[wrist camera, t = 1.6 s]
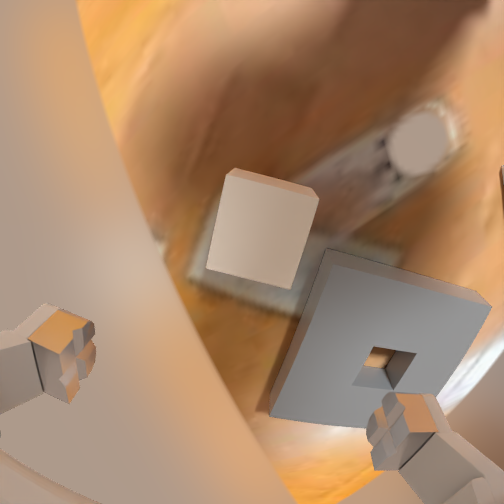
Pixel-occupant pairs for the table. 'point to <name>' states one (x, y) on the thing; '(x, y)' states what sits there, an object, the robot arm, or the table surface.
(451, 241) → the table surface
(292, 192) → the cream white block
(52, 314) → the robot arm
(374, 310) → the socket
